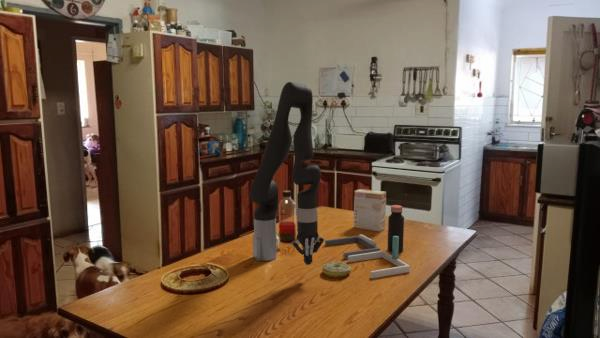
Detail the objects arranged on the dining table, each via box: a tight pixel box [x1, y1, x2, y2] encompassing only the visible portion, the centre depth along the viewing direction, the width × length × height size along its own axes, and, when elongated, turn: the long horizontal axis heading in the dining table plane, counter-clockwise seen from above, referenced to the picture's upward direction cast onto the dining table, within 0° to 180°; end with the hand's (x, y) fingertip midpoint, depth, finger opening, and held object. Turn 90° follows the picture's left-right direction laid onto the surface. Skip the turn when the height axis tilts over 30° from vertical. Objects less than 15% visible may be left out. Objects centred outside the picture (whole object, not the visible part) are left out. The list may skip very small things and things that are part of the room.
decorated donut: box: [322, 261, 352, 279], centre depth 177 cm, size 10×11×4 cm
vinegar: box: [387, 204, 405, 253], centre depth 202 cm, size 7×7×20 cm
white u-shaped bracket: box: [347, 236, 411, 279], centre depth 183 cm, size 18×19×12 cm
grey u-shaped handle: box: [324, 233, 381, 260], centre depth 204 cm, size 18×19×4 cm
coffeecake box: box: [353, 188, 387, 233], centre depth 236 cm, size 15×7×20 cm, turn 58°
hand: (308, 263), depth 172 cm, fingers closed
